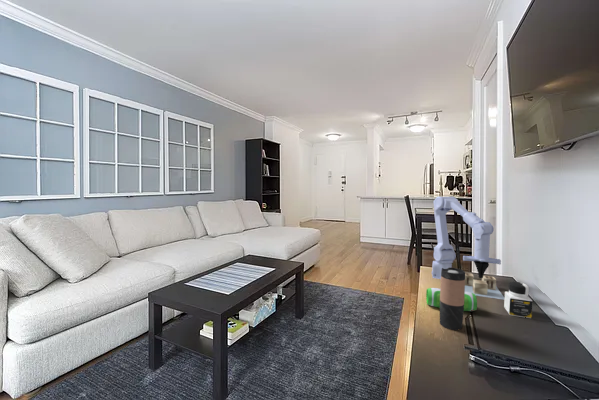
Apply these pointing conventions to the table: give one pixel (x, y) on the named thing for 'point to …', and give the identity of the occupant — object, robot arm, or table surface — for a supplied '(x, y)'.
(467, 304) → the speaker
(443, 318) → the travel mug
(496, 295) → the mat
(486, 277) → the two bar block
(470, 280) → the one bar block
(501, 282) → the table surface
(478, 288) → the plain block
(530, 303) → the medicine bottle
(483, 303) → the table surface
